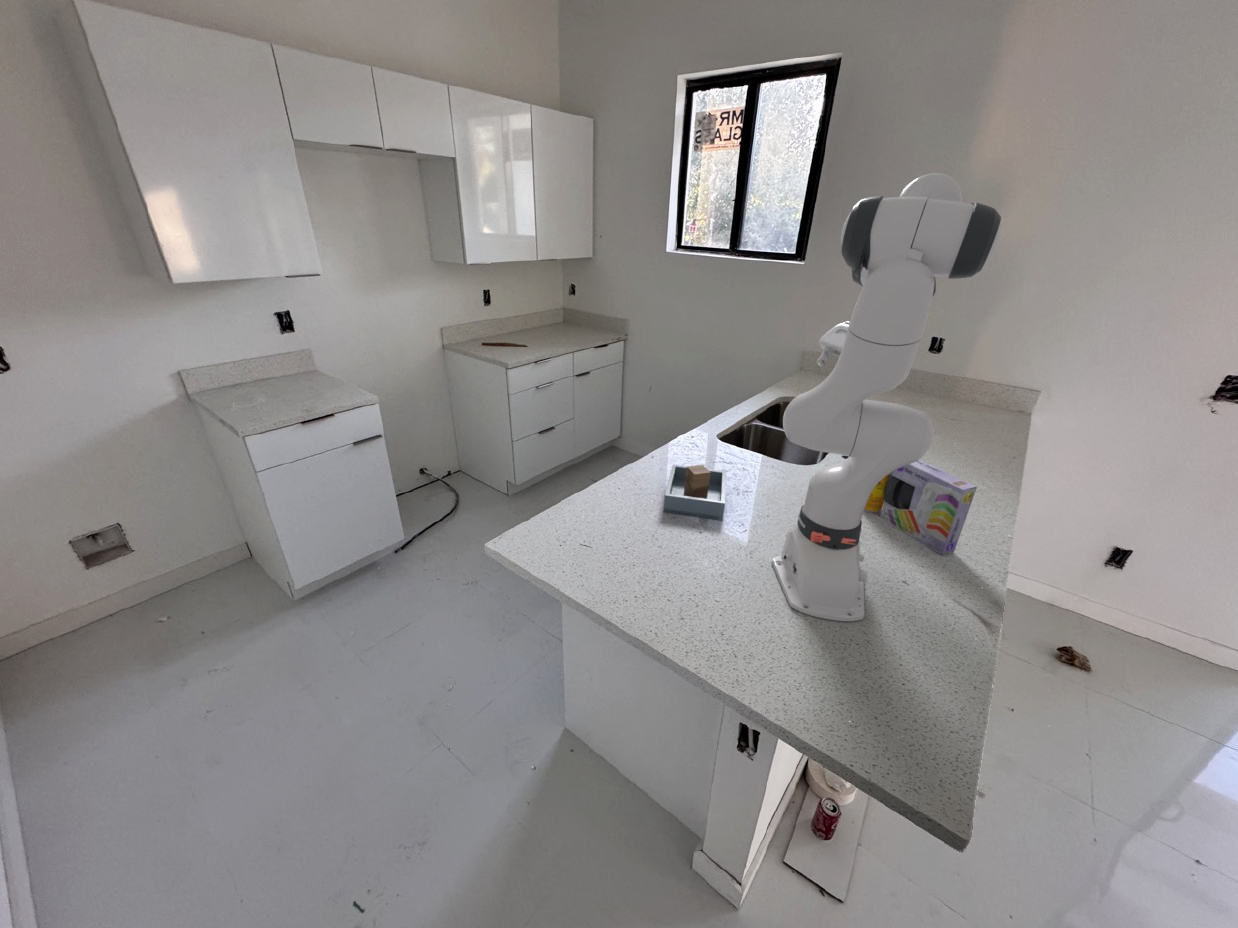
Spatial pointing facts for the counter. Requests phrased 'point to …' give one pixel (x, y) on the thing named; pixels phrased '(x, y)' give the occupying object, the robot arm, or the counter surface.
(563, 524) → the counter surface
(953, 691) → the counter surface
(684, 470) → the tote
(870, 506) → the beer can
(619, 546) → the counter surface
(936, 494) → the cake pan box
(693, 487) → the walnut block
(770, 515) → the counter surface
